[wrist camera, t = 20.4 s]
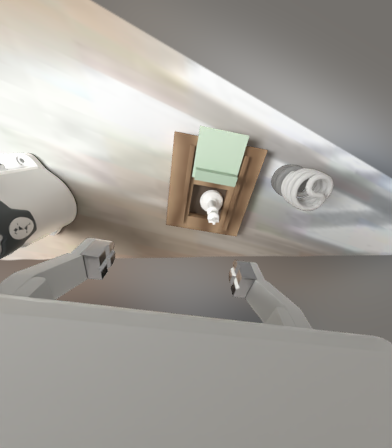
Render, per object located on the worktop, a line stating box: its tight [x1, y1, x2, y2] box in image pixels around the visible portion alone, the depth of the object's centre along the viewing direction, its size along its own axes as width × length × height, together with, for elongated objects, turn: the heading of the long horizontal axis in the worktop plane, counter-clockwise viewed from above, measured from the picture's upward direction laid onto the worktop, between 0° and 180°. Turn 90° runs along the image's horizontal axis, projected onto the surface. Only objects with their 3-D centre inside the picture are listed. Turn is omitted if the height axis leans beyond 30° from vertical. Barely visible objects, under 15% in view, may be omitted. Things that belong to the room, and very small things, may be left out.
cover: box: [192, 126, 249, 187], centre depth 26 cm, size 8×8×3 cm
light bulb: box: [271, 165, 333, 211], centre depth 26 cm, size 6×6×12 cm
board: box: [166, 132, 268, 236], centre depth 31 cm, size 16×18×3 cm
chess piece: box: [200, 190, 223, 225], centre depth 29 cm, size 5×5×10 cm
